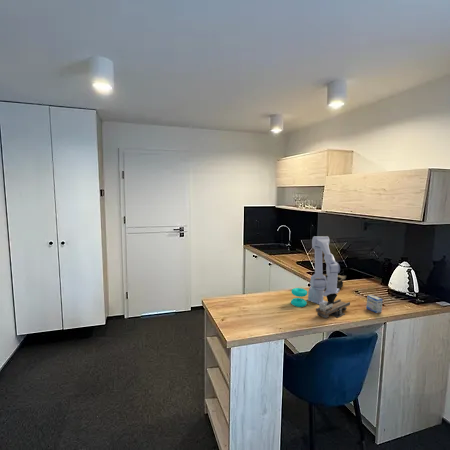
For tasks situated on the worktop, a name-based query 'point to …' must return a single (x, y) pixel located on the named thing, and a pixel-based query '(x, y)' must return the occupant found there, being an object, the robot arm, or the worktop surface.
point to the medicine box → (374, 303)
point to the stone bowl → (339, 280)
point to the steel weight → (325, 306)
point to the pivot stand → (338, 312)
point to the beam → (333, 308)
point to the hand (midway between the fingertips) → (330, 305)
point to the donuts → (299, 301)
